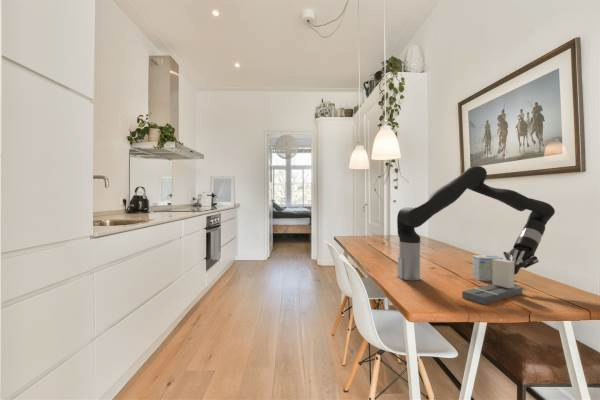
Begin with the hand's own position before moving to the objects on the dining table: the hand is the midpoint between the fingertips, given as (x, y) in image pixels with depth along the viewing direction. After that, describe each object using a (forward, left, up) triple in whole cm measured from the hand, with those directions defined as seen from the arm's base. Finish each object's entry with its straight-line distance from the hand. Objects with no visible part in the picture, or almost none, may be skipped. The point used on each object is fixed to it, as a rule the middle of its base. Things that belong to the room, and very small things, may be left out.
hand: (512, 273), depth 121 cm
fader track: (-12, -7, -7) cm, 15 cm away
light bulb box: (0, +17, -7) cm, 19 cm away
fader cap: (-6, -3, -4) cm, 8 cm away
